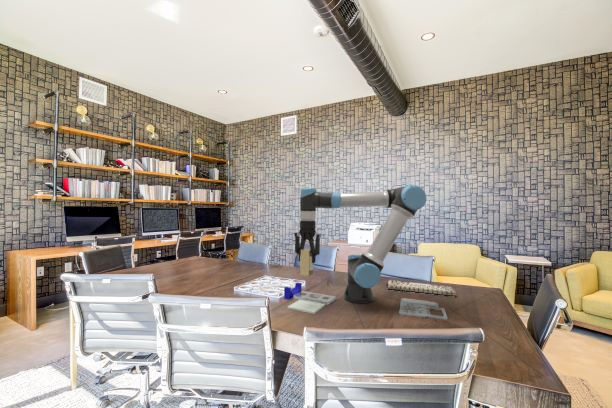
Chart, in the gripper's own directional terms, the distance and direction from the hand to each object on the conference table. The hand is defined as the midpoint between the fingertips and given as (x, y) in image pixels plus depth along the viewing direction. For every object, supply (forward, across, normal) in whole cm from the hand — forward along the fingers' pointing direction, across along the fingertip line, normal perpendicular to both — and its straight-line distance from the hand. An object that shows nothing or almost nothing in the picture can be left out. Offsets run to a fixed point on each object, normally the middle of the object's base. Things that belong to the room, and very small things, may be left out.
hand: (306, 268), depth 135 cm
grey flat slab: (+19, -49, -25) cm, 58 cm away
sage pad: (+18, 0, 0) cm, 18 cm away
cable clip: (+19, +15, -12) cm, 26 cm away
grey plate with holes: (+18, +2, -13) cm, 22 cm away
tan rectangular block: (+3, 0, 0) cm, 3 cm away
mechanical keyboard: (+19, -45, -60) cm, 77 cm away
